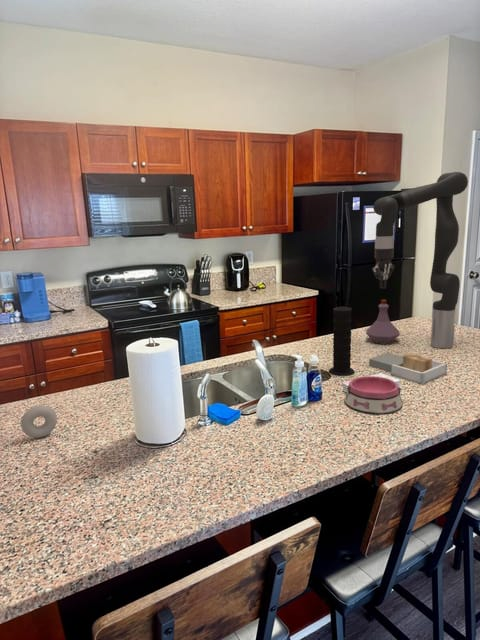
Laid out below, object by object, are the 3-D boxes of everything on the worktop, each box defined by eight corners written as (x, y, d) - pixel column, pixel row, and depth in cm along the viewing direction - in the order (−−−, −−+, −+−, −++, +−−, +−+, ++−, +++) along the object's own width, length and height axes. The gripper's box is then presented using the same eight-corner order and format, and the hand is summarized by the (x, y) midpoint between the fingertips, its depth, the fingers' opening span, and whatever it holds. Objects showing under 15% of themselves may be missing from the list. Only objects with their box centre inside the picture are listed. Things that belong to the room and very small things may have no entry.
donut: (24, 444, 129) (18, 412, 127) (22, 439, 132) (17, 408, 129) (60, 434, 134) (55, 403, 132) (58, 429, 137) (53, 399, 134)
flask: (359, 337, 220) (360, 298, 215) (391, 335, 222) (392, 296, 217) (372, 347, 204) (374, 304, 199) (406, 344, 206) (408, 302, 201)
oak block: (411, 353, 173) (432, 358, 165) (410, 367, 174) (431, 374, 167) (403, 356, 170) (424, 361, 163) (402, 370, 171) (423, 377, 164)
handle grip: (331, 376, 170) (357, 375, 170) (331, 309, 164) (358, 308, 164) (326, 367, 180) (351, 366, 180) (327, 304, 174) (352, 303, 173)
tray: (415, 365, 178) (416, 355, 177) (446, 373, 168) (447, 363, 167) (391, 374, 169) (391, 364, 168) (422, 384, 159) (422, 373, 158)
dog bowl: (343, 391, 157) (343, 373, 155) (397, 392, 153) (398, 374, 152) (345, 414, 139) (345, 393, 138) (407, 416, 136) (408, 395, 134)
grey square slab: (387, 359, 187) (387, 352, 186) (412, 366, 177) (413, 359, 177) (369, 365, 180) (369, 358, 179) (394, 373, 170) (394, 366, 170)
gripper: (381, 248, 178) (380, 291, 182) (401, 246, 185) (399, 287, 189) (366, 248, 183) (365, 289, 188) (386, 245, 191) (385, 285, 195)
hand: (382, 288), depth 188 cm, fingers closed
